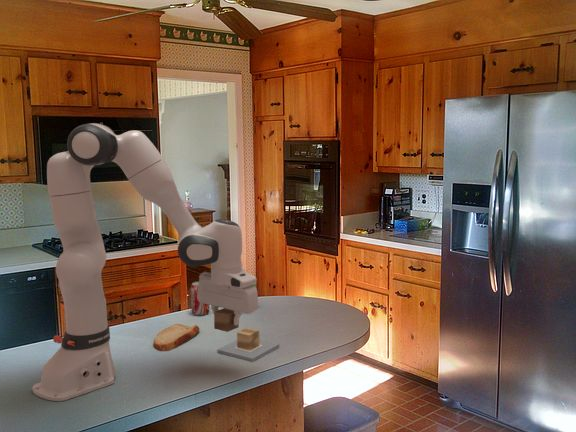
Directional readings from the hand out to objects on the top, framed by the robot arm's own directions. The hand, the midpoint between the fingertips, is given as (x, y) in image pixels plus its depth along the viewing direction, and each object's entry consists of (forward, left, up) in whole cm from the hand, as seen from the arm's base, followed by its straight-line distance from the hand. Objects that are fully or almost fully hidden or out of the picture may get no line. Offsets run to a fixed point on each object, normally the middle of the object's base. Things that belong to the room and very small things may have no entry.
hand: (226, 322), depth 162 cm
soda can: (+34, +42, -14) cm, 57 cm away
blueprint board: (+14, +3, -14) cm, 20 cm away
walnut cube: (0, 0, -2) cm, 2 cm away
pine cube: (+14, +4, -13) cm, 20 cm away
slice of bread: (+10, +30, -15) cm, 35 cm away
